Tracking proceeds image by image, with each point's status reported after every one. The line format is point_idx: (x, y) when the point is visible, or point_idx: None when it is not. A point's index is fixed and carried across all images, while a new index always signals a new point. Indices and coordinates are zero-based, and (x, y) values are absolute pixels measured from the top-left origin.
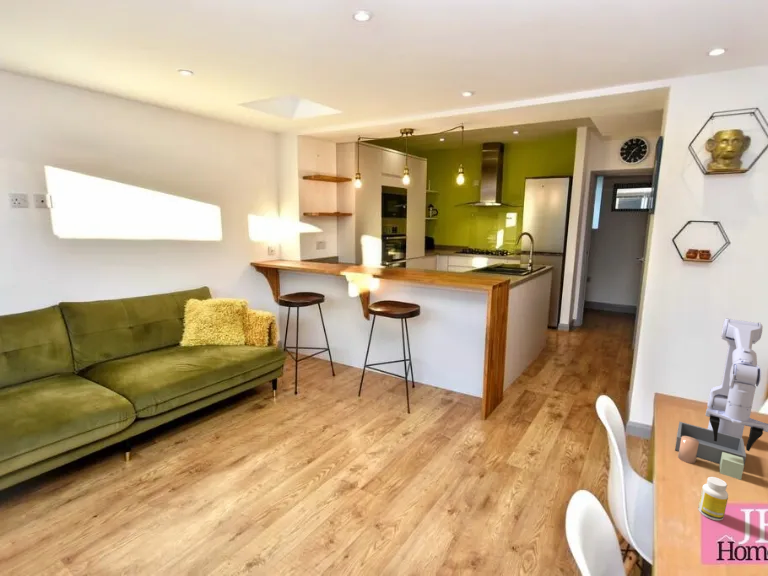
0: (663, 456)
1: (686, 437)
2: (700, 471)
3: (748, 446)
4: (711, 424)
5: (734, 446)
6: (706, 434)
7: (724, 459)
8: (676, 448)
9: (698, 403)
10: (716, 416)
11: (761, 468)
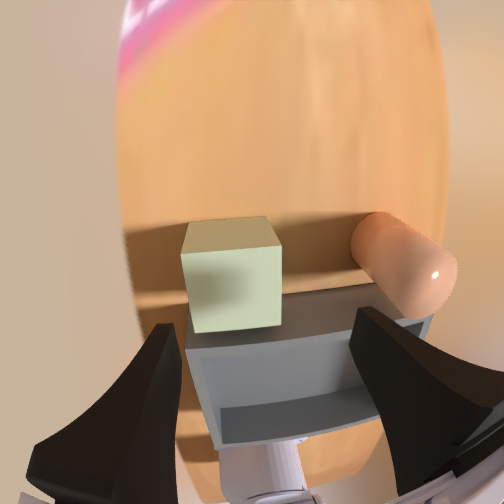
0: (439, 200)
1: (437, 298)
2: (336, 171)
3: (158, 345)
4: (490, 369)
5: (230, 416)
6: (312, 417)
7: (273, 247)
8: None
9: None
10: (474, 470)
11: None
